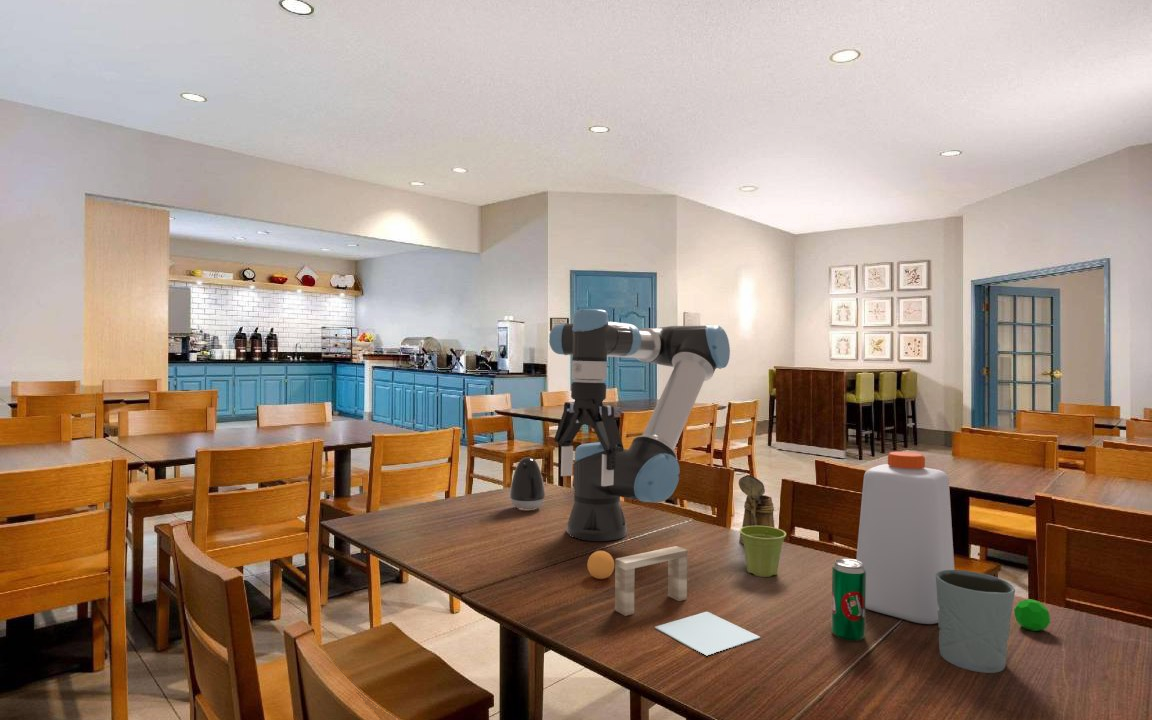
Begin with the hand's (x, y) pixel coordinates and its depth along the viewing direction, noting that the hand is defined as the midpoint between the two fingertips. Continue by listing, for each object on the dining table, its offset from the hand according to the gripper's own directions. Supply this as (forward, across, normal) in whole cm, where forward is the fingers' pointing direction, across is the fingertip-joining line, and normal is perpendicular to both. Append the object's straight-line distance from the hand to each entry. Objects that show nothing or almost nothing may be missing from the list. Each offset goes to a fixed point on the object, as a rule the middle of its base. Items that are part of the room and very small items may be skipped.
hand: (586, 480), depth 137 cm
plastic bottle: (+18, +52, +33) cm, 64 cm away
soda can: (+19, +52, +13) cm, 57 cm away
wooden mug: (+18, +13, +43) cm, 48 cm away
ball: (+16, +8, -2) cm, 18 cm away
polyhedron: (+18, +70, +40) cm, 83 cm away
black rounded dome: (+18, -49, +19) cm, 55 cm away
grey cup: (+18, +68, +20) cm, 73 cm away
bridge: (+19, +24, -3) cm, 30 cm away
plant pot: (+18, +26, +28) cm, 42 cm away
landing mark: (+19, +37, -5) cm, 42 cm away
